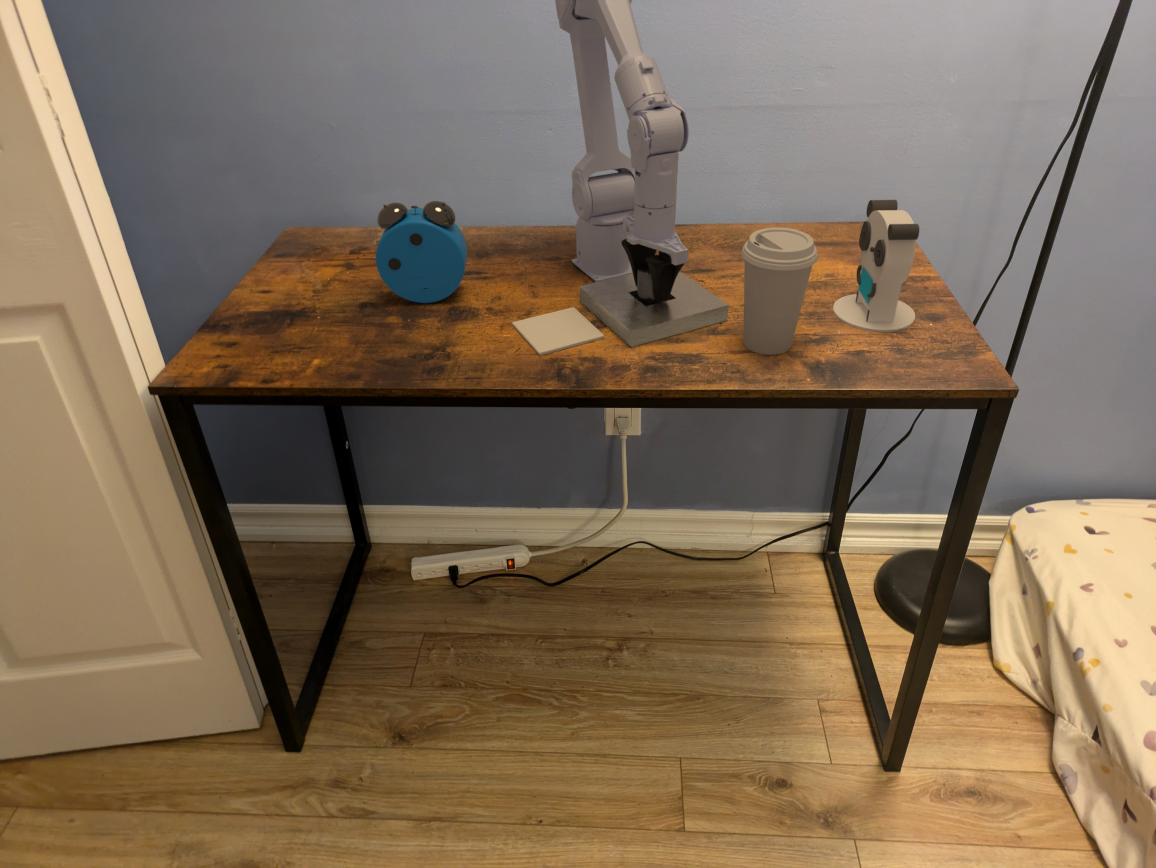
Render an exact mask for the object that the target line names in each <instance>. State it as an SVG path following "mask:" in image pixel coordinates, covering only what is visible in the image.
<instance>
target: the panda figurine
mask: <svg viewBox="0 0 1156 868" xmlns="http://www.w3.org/2000/svg"><path fill="white" fill-rule="evenodd" d="M898 204H899V203H898V201H897V199H871V200H870V199H869V201H868V203H867V206H866V217H867V219H866V220H865V221H864V222H862V223H863V224H862V226H861V230H860V233H859V240H858V246H859V249H860V260H861V265H860V264H859V265H858V266H857V269H856V283H857V285H858V287H857V289H856V290H857V291H856V293H854V294H848V295H845V296H842V297H840V298H838V299H837V300H836V301H834V303H833V306H832V312H833V315H835V317H836V318H837V320H839V321H840V322H842V323H844V324H846V325H848V326H850V327H853V328H857V329H859V330H864V331H869V332H874V333H875V332H876V333H878V332H879V333H891V332H898V331H902V330H905V329H907V328H909V327H911V326H912V325H913V324H914V323H915V320H916V313H915V311H914V310H913V308H912V307H911V306H909V305H908V304H907V303H905V302H903V301H901V300H899V298H900V295H901V290H902V286H903V283H905V282H906V281H907V279H908V277H909V276H910V274H911V270H912V268H913V263H914V259H915V253H916V245H917V244H916V243H917V240H918V238H919V237H920V236H919V235H920V226H919V224H918V223H915V222H914V221H913V219H912V217H911V215H910V213H908V211H906V210H903V209H899V210H898V206H899V205H898Z"/></svg>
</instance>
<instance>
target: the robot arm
mask: <svg viewBox="0 0 1156 868" xmlns="http://www.w3.org/2000/svg"><path fill="white" fill-rule="evenodd" d="M632 1H633V0H555V9H556V17H557V20H558V25H559V28H560V29H561V30H562V31H565V32H566V33H568V34H569V37H570V43H571V50H572V57H573V65H574V69H575V70H574V72H575V78H576V79H575V80H576V86H577V92H578V100H579V107H580V113H581V121H582V122H581V123H582V127H583V136H584V143H585V150H586V151H585V152H586V154H585V155H584V156H583V157H582V159H581V160H580V161H579V162H578V163H577V165H576V166H575V167H574V168H573V169H572V171H571V182H572V183H571V184H572V189H571V199H572V203H573V205H572V206H573V208H574V211H575V213H576V215H577V217H578V218H577V220H576V224H575V236H576V237H575V239H576V243H575V244H576V258H573V259H571V263H572V264H574V265H575V266H576V267H578V268H579V269H580V270H581V271H582V272H583V273H584V274H585V275H587V276H588V277H590V278H591V279H592V281H594V283H595V282H599V281H603V280H607V279H611V278H616V277H620V276H624V275H628V274H632V273H633V277H634V281H635V285H636V287H637V271H638V268H639V267H640V266H643V265H646V264H648V266H649V269H650V272H651V276H652V285H653V296H654V300H655V301H656V302H662V301H665V300H669V297H670V294H671V291H672V288H673V285H674V282H675V279H676V277H677V275H678V273H679V271H680V272H681V270H682V268H683V267H684V265H685V264H687V263H688V256H689V249H688V248H687V247H686V246H684V244H683V242H682V241H681V239H680V237H679V235H678V233H677V232H676V214H677V213H676V212H677V211H676V210H677V191H678V172H679V158H680V157H679V156H680V155H679V153H680V152H683V151H684V150H686V149H685V148H686V147H687V146H688V145H687V144H688V141H689V136H690V135H689V134H690V133H689V132H690V131H689V122H688V117H687V115H686V111H685V109H684V108H683V106H681V105H680V104H678V103H677V102H676V100H675V98H672V97H670V96H669V94H668V90H667V89H666V86H665V84H664V81H663V78H662V75H661V73H660V69H659V67H658V65H657V62H656V60H655V58H654V57H653V56H651V55H649V54H646V53H644V51H643V50H644V49H643V47H642V43H641V39H640V35H639V32H638V27H637V24H636V20H635V17H634V13H633V9H632V5H631V4H632ZM606 42H607V44H608V46H609V48H610V50H611V53H612V54H613V57H614V59H615V61H616V63H617V65H618V66H617V68H616V70H615V73H614V81H615V84H616V87H617V90H618V93H619V96H620V98H621V101H622V104H623V107H624V109H625V112H626V115H627V118H628V126H627V127H628V128H627V129H626V137H627V143H628V147H629V151H630V156H629V155H626V154H625V153H624V152H622V151H621V150H620V148H619V140H618V133H617V124H616V116H615V109H614V101H613V92H612V84H611V77H610V70H609V62H608V61H609V60H608V55H607V54H608V53H607V46H606ZM605 171H606V172H607V171H616V172H612V173H611V172H610V173H606V174H599V175H595V176H594V175H593V174H595V173H598V172H605ZM657 251H658V254H657Z"/></svg>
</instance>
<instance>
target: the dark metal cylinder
mask: <svg viewBox="0 0 1156 868" xmlns="http://www.w3.org/2000/svg"><path fill="white" fill-rule="evenodd" d="M637 300H638V301H639V302H641V303H642V304H643V305H644V306H649V305H653V304H657V303H661V302H656V301H655V300H654V296H653V285H652V276H651V272H650V269H649V266H648V264H646V265H643V266H640V267H639V268H638V271H637ZM665 301H667V300H665ZM665 301H662V302H665Z"/></svg>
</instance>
